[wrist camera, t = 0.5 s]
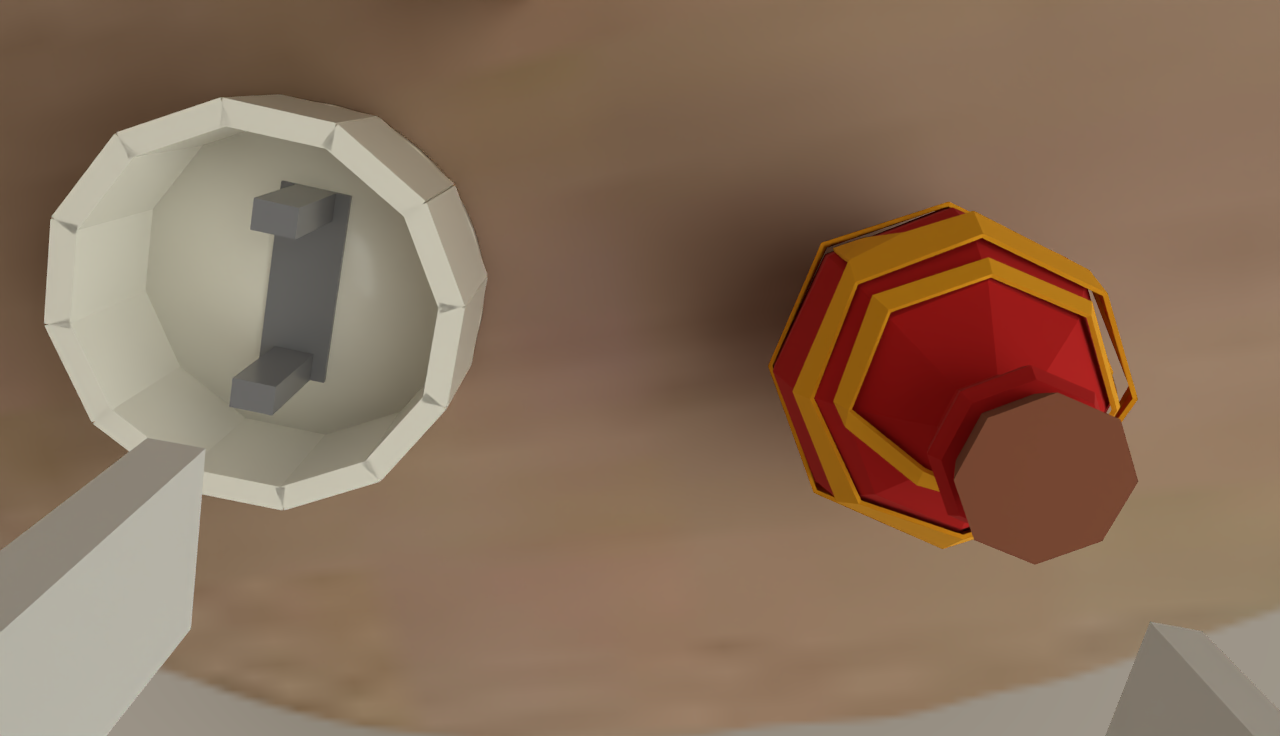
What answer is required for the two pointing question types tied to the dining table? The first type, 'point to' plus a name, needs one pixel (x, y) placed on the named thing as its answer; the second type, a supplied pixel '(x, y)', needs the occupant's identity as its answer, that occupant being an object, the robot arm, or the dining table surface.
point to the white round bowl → (266, 293)
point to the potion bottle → (958, 386)
